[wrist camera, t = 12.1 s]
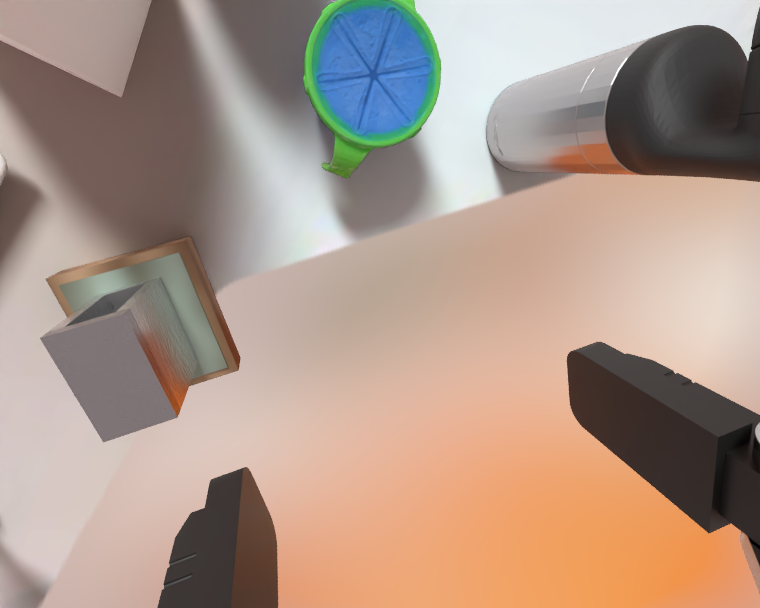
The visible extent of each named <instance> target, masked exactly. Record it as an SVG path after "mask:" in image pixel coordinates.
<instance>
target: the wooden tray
mask: <svg viewBox="0 0 760 608" xmlns="http://www.w3.org/2000/svg"><path fill="white" fill-rule="evenodd" d="M158 277H161V279H162V281H163V283H164V286H165V288H166V290H167V292H168V294H169V296H170V299H171V301H172V303H173V305H174V307H175V310H176V312H177V314H178V316H179V318H180V320H181V323H182V325H183V327H184V329H185V331H186V334H187V336H188V338H189V340H190V342H191V344H192V347H193V349H194V351H195V353H196V355H197V358H198V363H197V366H196V368H195V371H194V374H193V377H192V379H191V382H190V385H189V386H191V385H194V384H197V383H200V382H203V381H207V380H209V379H213V378H216V377H219V376H222V375H225V374H228V373H231V372H235V371H238V369H239V363H240V356H239V353H238V351H237V348H236V346H235V343H234V341H233V339H232V336H231V334H230V331H229V329H228V326H227V324H226V322H225V319H224V316H223V314H222V311H221V309H220V307H219V304H218V302H217V299H216V297H215V294H214V292H213V289H212V287H211V285H210V282H209V280H208V277H207V275H206V272H205V270H204V267H203V265H202V263H201V260H200V258H199V255H198V253H197V250H196V248H195V245H194V243H193V240H192V238H191V236H190V237H186V238H182V239H178V240H175V241H171V242H167V243H164V244H160V245H156V246H152V247H149V248H145V249H141V250H137V251H134V252H130V253H126V254H123V255H119V256H115V257H111V258H108V259H104V260H100V261H96V262H93V263H89V264H85V265H82V266H78V267H74V268H70V269H67V270H63V271H60V272H58V273H56V274H54V275H53V276H51V277H49V278H47V279H46V281H47V282H48V284H49V286H50V288H51V289H52V291H53V293H54V295H55V296H56V298H57V300H58V302H59V304H60V305H61V307H62V309H63V311H64V312H65V314H66V316H67V318H68V317H69V316H70V315H71V314H73V313H74V312H75V311H77V310H78V309H79V308H81V307H82V306H83V305H85V304H86V303H87V302H89V301H90V300H91V299H93V298H94V297H95V296H97V295H98V294H101V293H105V292H108V291H112V290H115V289H119V288H122V287H126V286H129V285H133V284H136V283H140V282H143V281H147V280H150V279H154V278H158Z"/></svg>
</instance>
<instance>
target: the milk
mask: <svg viewBox="0 0 760 608" xmlns="http://www.w3.org/2000/svg"><path fill="white" fill-rule="evenodd" d="M151 1H152V0H0V41H2V42H4V43H6V44H9V45H11V46H13V47H15V48H17V49H19V50H21V51H23V52H26V53H28V54H30V55H32V56H34V57H36V58H38V59H40V60H42V61H45V62H47V63H49V64H51V65H53V66H55V67H57V68H59V69H62V70H64V71H66V72H68V73H70V74H72V75H74V76H76V77H79V78H81V79H83V80H85V81H87V82H89V83H91V84H93V85H95V86H98V87H100V88H102V89H104V90H106V91H108V92H110V93H112V94H115V95H117V96H119V97H121V98H122V95H123V92H124V89H125V85H126V82H127V79H128V76H129V72H130V69H131V66H132V63H133V59H134V56H135V53H136V50H137V47H138V43H139V40H140V37H141V34H142V30H143V27H144V24H145V21H146V17H147V14H148V11H149V8H150V4H151Z"/></svg>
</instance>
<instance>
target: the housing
mask: <svg viewBox="0 0 760 608" xmlns="http://www.w3.org/2000/svg"><path fill="white" fill-rule="evenodd" d="M40 339H41V341H42V342H43V344H44V346H45V347H46V349H47V351H48V352H49V354H50V355H51V357H52V359H53V360H54V362H55V364H56V365H57V367H58V369H59V370H60V372H61V373H62V375H63V377H64V378H65V380H66V382H67V383H68V385H69V387H70V388H71V390H72V392H73V393H74V395H75V396H76V398H77V400H78V401H79V403H80V405H81V406H82V408H83V410H84V411H85V413H86V414H87V416H88V418H89V419H90V421H91V423H92V424H93V426H94V428H95V429H96V431H97V432H98V434H99V436H100V437H101V439H102V441H103V442H106V441H109V440H112V439H115V438H118V437H121V436H124V435H127V434H130V433H133V432H136V431H139V430H141V429H144V428H147V427H150V426H153V425H156V424H159V423H162V422H165V421H168V420H171V419H174V418H177V417H178V415H179V412H180V409H181V406H182V404H183V401H184V398H185V396H186V393H187V390H188V387H189V385H190V382H191V379H192V377H193V374H194V371H195V368H196V366H197V363H198V358H197V355H196V353H195V351H194V349H193V347H192V344H191V342H190V340H189V338H188V336H187V334H186V331H185V329H184V327H183V325H182V323H181V320H180V318H179V316H178V314H177V312H176V310H175V307H174V305H173V303H172V301H171V299H170V296H169V294H168V292H167V290H166V288H165V286H164V283H163V281H162V279H161V277H158V278H154V279H150V280H147V281H143V282H140V283H136V284H133V285H129V286H126V287H122V288H119V289H115V290H112V291H108V292H105V293H101V294H98V295H97V296H95V297H94V298H93V299H91V300H90V301H89V302H87V303H86V304H85V305H83V306H82V307H81V308H79V309H78V310H77V311H75V312H74V313H73V314H71V315H70V316H69V317H68V318H66V319H65V320H64V321H62V322H61V323H60V324H58V325H57V326H56V327H54V328H53V329H52V330H50V331H49V332H48V333H46V334H45V335H44V336H42V337H41V338H40Z"/></svg>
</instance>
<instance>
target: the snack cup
mask: <svg viewBox="0 0 760 608" xmlns="http://www.w3.org/2000/svg"><path fill="white" fill-rule="evenodd" d="M440 78H441V61H440V58H439V53H438V49H437V46H436V43H435V41H434V38H433V35H432V33H431V31H430V29H429V28H428V26H427V24H426V23H425V21H424V20H423V19H422V17H421V16H420V15H419V14H418V13H417V12H416V11H415V2H414V0H338V1H336V2H335V3H330V4H329V5H328V6H326V7H325V8H324V9H323V11H322V12H321V15H320V18H319V19H318V21H317V23H316V24H315V26H314V28H313V30H312V32H311V34H310V37H309V40H308V43H307V47H306V51H305V59H304V77H303V83H304V87H305V91H306V94H307V95H308V96H309V98H310V101H311V103H312V105H313V107H314V109H315V110H316V112H317V114H318V115H319V117H320V119H321V120H322V121H323V122H324V124H325V125H326V126H327V127H328V128H329V129H330V130H331V131H332V132H333V133H334V137H335V145H334V154H333V159H332V161H331V163H330V164H327V163H322V168H323V169H325V170H326V171H329V172H332V173H335V174H337V175H340V176H342V177H345V178H349V177H350V174H351V173H352V172H353V171H354V170H355V169H356V168H357V167H358V166H359V164H360V163H361V162H362V161H363V159H364V158H365V157H366V155H367V154H368V153H369V152H370V151H371V150H372V149H375V148H382V147H388V146H392V145H395V144H398V143H400V142H402V141H404V140H406V139H407V138H412V137H414V136H415V135H416V134H417V133H418V132H419V131H420V130H421V127H422V125H423V124H424V123H425V122H426V120H427V119H428V117H429V116H430V114H431V112H432V110H433V108H434V106H435V104H436V101H437V97H438V93H439V87H440Z"/></svg>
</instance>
